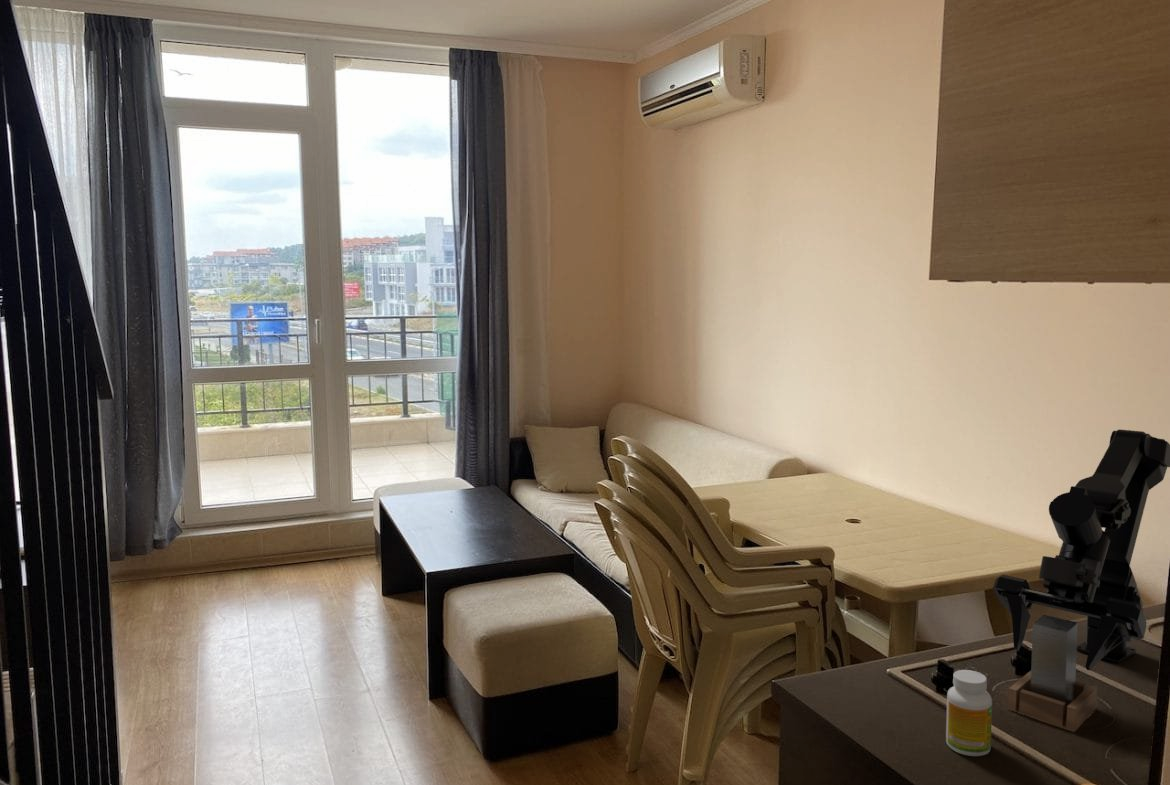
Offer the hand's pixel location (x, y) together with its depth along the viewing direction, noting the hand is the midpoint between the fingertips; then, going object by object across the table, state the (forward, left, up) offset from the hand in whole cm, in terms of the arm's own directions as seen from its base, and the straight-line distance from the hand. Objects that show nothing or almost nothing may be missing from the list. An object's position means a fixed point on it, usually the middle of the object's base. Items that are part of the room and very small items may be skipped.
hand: (1050, 659), depth 121 cm
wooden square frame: (-1, 0, -8) cm, 8 cm away
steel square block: (-1, 0, -8) cm, 8 cm away
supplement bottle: (+17, -2, -8) cm, 19 cm away
